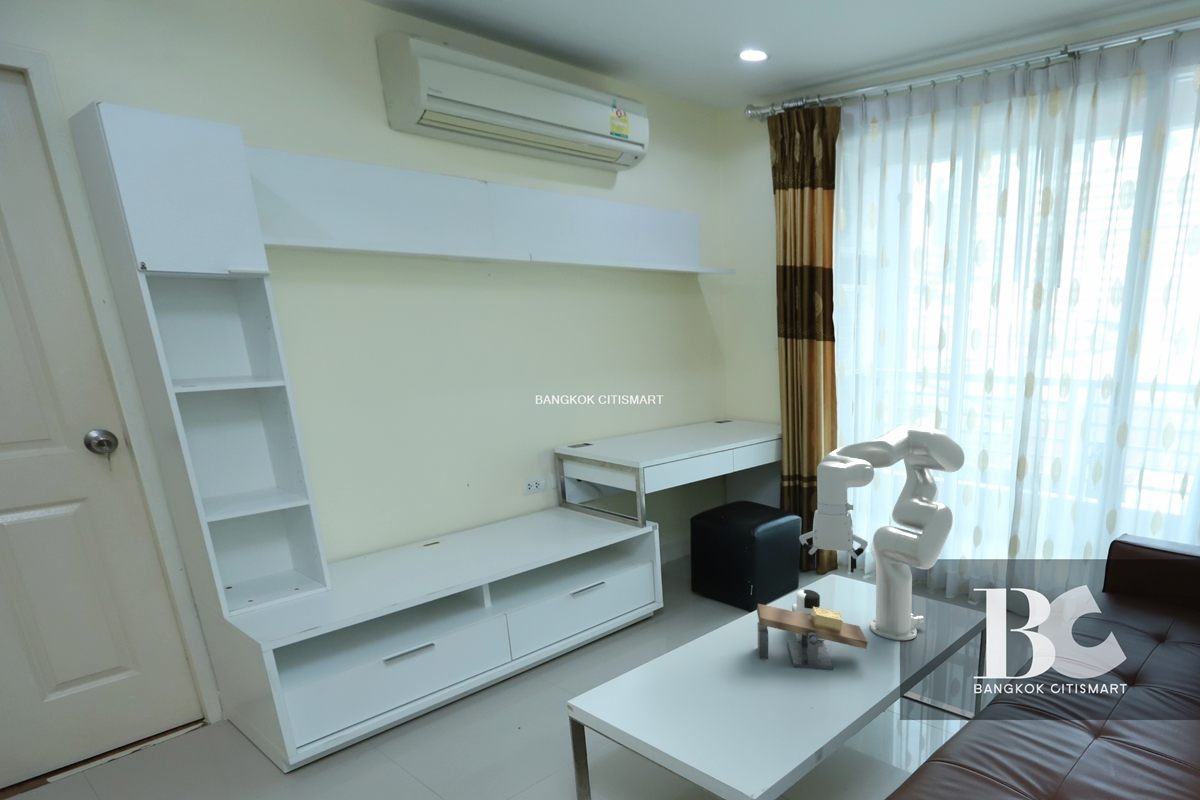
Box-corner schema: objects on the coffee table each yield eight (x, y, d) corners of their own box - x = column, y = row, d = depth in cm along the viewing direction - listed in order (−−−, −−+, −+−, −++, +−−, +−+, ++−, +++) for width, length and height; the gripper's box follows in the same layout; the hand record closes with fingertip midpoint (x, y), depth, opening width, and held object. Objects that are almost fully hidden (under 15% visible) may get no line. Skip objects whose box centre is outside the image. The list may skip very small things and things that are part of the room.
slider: (836, 624, 166) (839, 612, 165) (840, 632, 161) (843, 620, 160) (810, 618, 167) (813, 606, 166) (813, 626, 162) (816, 614, 162)
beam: (857, 632, 167) (859, 626, 167) (866, 648, 158) (867, 642, 158) (756, 610, 171) (758, 603, 171) (759, 624, 163) (760, 617, 162)
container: (817, 628, 181) (818, 587, 180) (824, 641, 174) (825, 598, 172) (791, 627, 182) (791, 586, 181) (797, 640, 174) (797, 597, 173)
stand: (823, 644, 171) (823, 613, 170) (833, 671, 158) (833, 636, 157) (756, 641, 175) (756, 609, 174) (760, 666, 161) (760, 632, 160)
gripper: (867, 506, 160) (867, 567, 162) (799, 502, 167) (801, 560, 169) (867, 514, 153) (868, 578, 155) (797, 509, 160) (798, 570, 162)
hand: (833, 568), depth 162 cm, fingers open, 9 cm apart
